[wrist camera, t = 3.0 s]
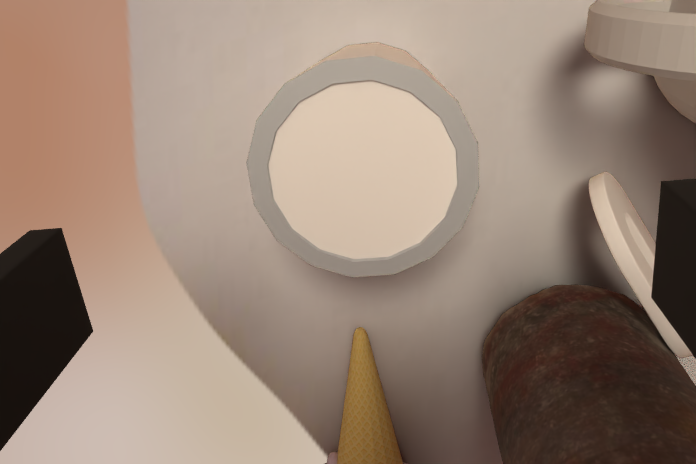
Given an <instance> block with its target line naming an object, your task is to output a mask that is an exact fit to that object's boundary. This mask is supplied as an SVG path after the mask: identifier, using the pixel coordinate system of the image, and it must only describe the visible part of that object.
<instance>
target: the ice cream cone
mask: <svg viewBox="0 0 696 464" xmlns="http://www.w3.org/2000/svg"><path fill="white" fill-rule="evenodd" d="M325 464H407V463H403V461H402V458H401V454H400V450H399V447H398V443H397V440H396V436H395V432H394V429H393V425H392V421H391V418H390V414H389V411H388V407H387V403H386V400H385V396H384V393H383V389H382V385H381V382H380V378H379V374H378V371H377V367H376V364H375V360H374V356H373V353H372V349H371V346H370V342H369V338H368V335H367V332H366V331H365V329H364V328H362V327H359V328H357V329H356V331H355V333H354V336H353V343H352V350H351V358H350V365H349V373H348V380H347V387H346V395H345V402H344V410H343V417H342V424H341V432H340V439H339V447H338V453H337V452H332V453H330V454H329V456H328V459H327V463H325Z"/></svg>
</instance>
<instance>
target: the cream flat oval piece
mask: <svg viewBox="0 0 696 464" xmlns="http://www.w3.org/2000/svg"><path fill="white" fill-rule="evenodd" d="M589 194H590V199H591V203H592V206H593V210H594V213H595V216H596V219H597V222H598V224H599V227H600V229H601V232H602V234H603V236H604V239H605V241H606V243H607V245H608V248H609V250H610V252H611V254H612V256H613V258H614V260H615V261H616V263H617V265H618V267H619V269H620V270H621V272H622V274H623V276H624V277H625V279H626V280H627V282H628V284H629V285H630V287H631V288H632V290H633V291H634V293H635V295H636V296H637V298H638V299H639V301H640V303H641V304H642V306H643V307H644V309H645V311H646V312H647V314H648V315H649V317H650V319H651V320H652V322H653V323H654V325H655V327H656V328H657V330H658V331H659V333H660V335H661V336H662V338H663V339H664V341H665V342H666V344H667V345H668V347H669V348H670V349H671V351H672V352H673V353H674V354H675V355H676V356H678V357H680V358H684V357H688V356H692V355H693V354H692V353H691V352H690V350H689V349H688V347H687V346H686V345H685V343H684V342H683V341H682V339H681V338H680V336H679V335H678V334H677V332H676V331H675V330H674V328H673V327H672V325H671V324H670V323H669V321H668V320H667V319H666V317H665V316H664V314H663V313H662V312H661V310H660V309H659V308H658V306H657V305H656V303H655V302H654V301H653V299H652V298H651V293H652V282H653V270H654V259H655V247H656V244H655V242H654V240H653V238H652V237H651V235H650V233H649V232H648V230H647V228H646V227H645V225H644V223H643V222H642V220H641V218H640V216H639V215H638V213H637V211H636V210H635V208H634V206H633V205H632V203H631V201H630V200H629V198H628V196H627V195H626V193H625V191H624V190H623V188H622V187H621V185H620V184H619V183H618V181H617V180H616V179H615V178H614V177H613V176H612V175H611V174H610V173H608V172H603V173H600V174H598V175H596V176H594V177H592V178H590V180H589Z"/></svg>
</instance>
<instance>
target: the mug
mask: <svg viewBox="0 0 696 464" xmlns="http://www.w3.org/2000/svg"><path fill="white" fill-rule="evenodd" d="M584 46H585V48H586V49H587V51H588V52H589V53H590V54H591V55H592V56H593V57H594V58H595V59H597V60H598V61H601V62H603V63H605V64H608V65H611V66H613V67H617V68H620V69H624V70H628V71H633V72H637V73H641V74H647V75H653V76H654V78H655V81H656V83H657V85H658V87H659V89H660V90H661V92H662V93H663V95H664V96H665V97H666V99H667V100H668V102H669V103H670V104H671V105H672V106H673V107H674V108H675V109H676V110H677V111H678V112H679V113H680V114H682V115H683V116H685V117H686V118H688V119H689V120H691V121H692V122H694V123H695V124H696V0H597V1H596V2H595V3H593V4H592V5H591V6H590V7H589V11H588V18H587V26H586V34H585V41H584Z"/></svg>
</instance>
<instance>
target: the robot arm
mask: <svg viewBox="0 0 696 464" xmlns="http://www.w3.org/2000/svg"><path fill="white" fill-rule="evenodd" d="M651 298H652V299H653V301H654V302H655V303H656V305H657V306H658V308H659V309H660V310H661V312H662V313H663V314H664V316H665V317H666V319H667V320H668V321H669V323H670V324H671V325H672V327H673V328H674V330H675V331H676V332H677V334H678V335H679V336H680V338H681V339H682V341H683V342H684V343H685V345H686V346H687V347H688V349H689V350H690V352H691V353H692V354H693V356H694V357H695V358H696V179H687V180H674V181H661V190H660V202H659V213H658V225H657V236H656V247H655V259H654V270H653V282H652V293H651ZM92 332H93V329H92V326H91V322H90V320H89V316H88V313H87V310H86V306H85V303H84V300H83V297H82V293H81V290H80V287H79V284H78V280H77V277H76V274H75V271H74V267H73V264H72V261H71V258H70V255H69V251H68V248H67V245H66V241H65V238H64V235H63V232H62V228H56V229H44V230H31V231H29V232H27V233H26V234H25V235H23V236H22V237H21V238H20V239H18V241H16V242H15V243H13V244H12V245H11V246H10V247H8V248H7V249H6V250H4V251H3V252H2V253H1V254H0V451H1V449H2V448H3V447H4V446H5V444H6V443H7V442H8V440H9V439H10V438H11V437H12V435H13V434H14V432H15V431H16V430H17V429H18V428H19V426H20V425H21V424H22V422H23V421H24V420H25V418H26V417H27V416H28V415H29V413H30V412H31V411H32V409H33V408H34V407H35V406H36V404H37V403H38V402H39V400H40V399H41V398H42V397H43V395H44V394H45V393H46V391H47V390H48V389H49V388H50V386H51V385H52V384H53V382H54V381H55V380H56V379H57V377H58V376H59V375H60V373H61V372H62V371H63V369H64V368H65V367H66V366H67V364H68V363H69V362H70V360H71V359H72V358H73V357H74V355H75V354H76V353H77V351H78V350H79V349H80V348H81V346H82V345H83V344H84V342H85V341H86V340H87V339H88V337H89V336H90V335H91V333H92Z"/></svg>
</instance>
